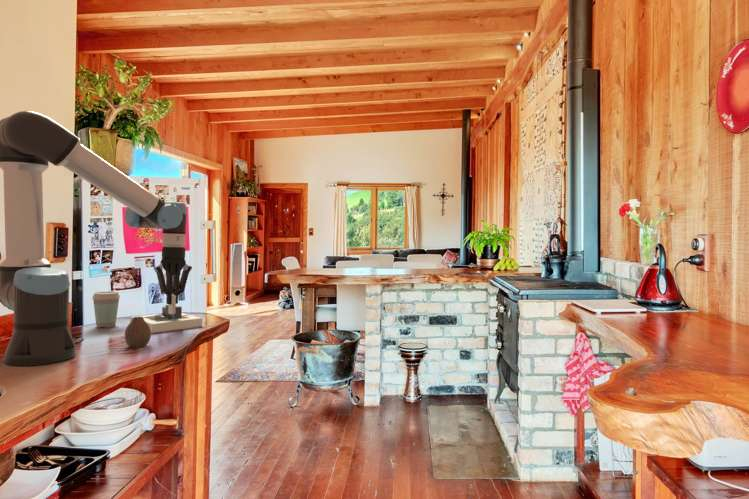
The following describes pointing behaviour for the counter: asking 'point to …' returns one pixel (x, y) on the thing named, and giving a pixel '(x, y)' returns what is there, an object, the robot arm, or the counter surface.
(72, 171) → the robot arm
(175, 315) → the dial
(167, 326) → the dial board
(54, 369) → the counter surface
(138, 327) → the vase
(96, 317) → the coffee cup
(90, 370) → the counter surface
